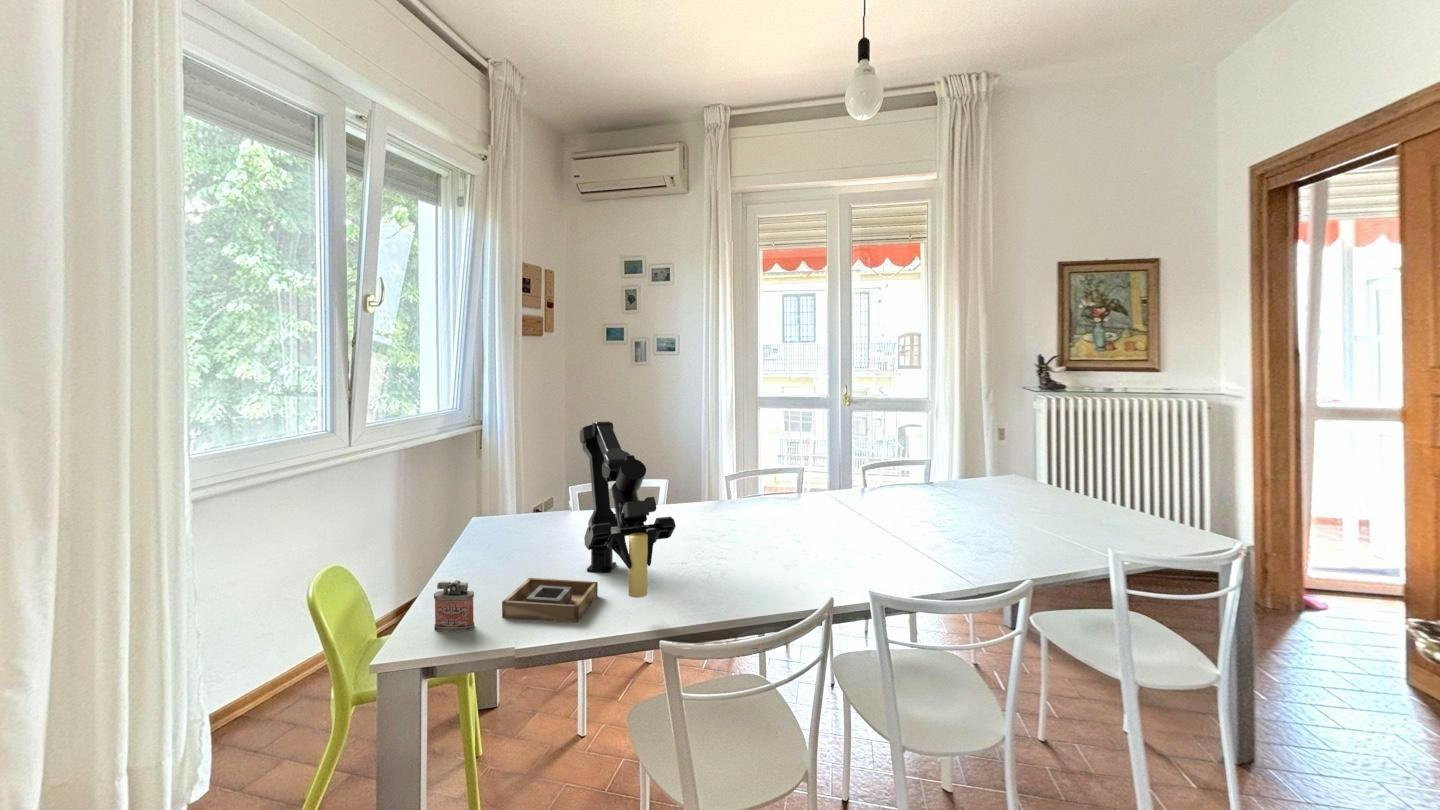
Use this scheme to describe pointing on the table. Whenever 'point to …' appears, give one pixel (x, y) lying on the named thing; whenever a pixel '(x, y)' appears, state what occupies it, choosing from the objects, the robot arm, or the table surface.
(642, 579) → the plug
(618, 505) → the robot arm
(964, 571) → the table surface
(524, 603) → the walled box
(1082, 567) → the table surface
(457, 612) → the lighter
